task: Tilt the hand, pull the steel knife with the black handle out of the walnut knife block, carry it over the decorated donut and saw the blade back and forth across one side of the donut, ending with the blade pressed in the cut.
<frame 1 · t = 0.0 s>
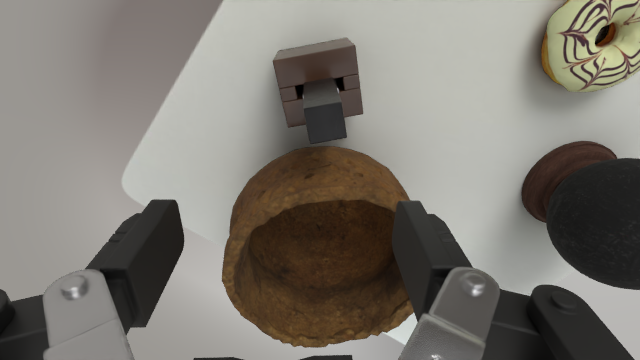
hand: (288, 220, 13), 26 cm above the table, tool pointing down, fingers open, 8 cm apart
black ball on stand: (566, 182, 43), on the table
knife block: (317, 74, 35), on the table
bowl: (321, 192, 42), on the table
knife: (320, 93, 28), in the knife block
decorated donut: (587, 32, 34), on the table
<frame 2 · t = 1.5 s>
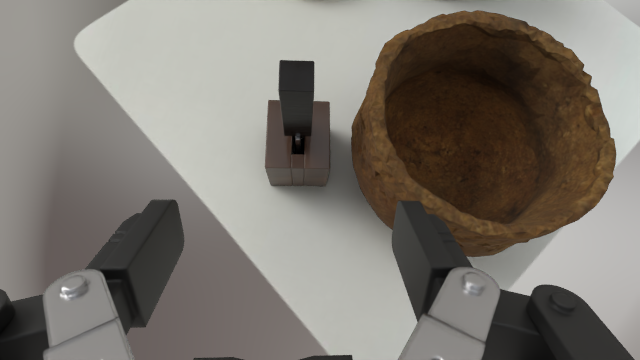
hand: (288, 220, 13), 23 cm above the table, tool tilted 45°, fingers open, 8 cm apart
knife block: (298, 155, 38), on the table
bowl: (423, 175, 38), on the table
knife: (298, 125, 31), in the knife block
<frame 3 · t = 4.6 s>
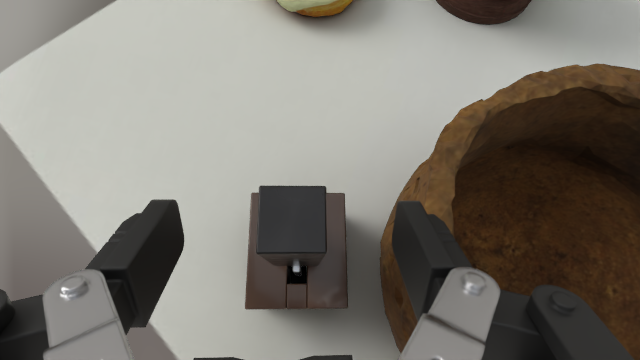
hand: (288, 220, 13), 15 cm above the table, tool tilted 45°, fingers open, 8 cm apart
knife block: (298, 256, 27), on the table
bowl: (477, 281, 27), on the table, touching gripper
knife: (296, 244, 19), in the knife block
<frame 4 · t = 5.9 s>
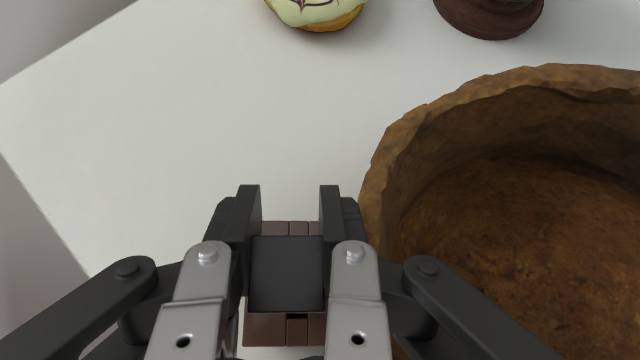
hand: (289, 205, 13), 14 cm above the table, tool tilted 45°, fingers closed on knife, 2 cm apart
knife block: (299, 282, 26), on the table
bowl: (490, 309, 25), point 1 cm above the table, touching gripper
knife: (293, 280, 18), in the knife block, touching gripper
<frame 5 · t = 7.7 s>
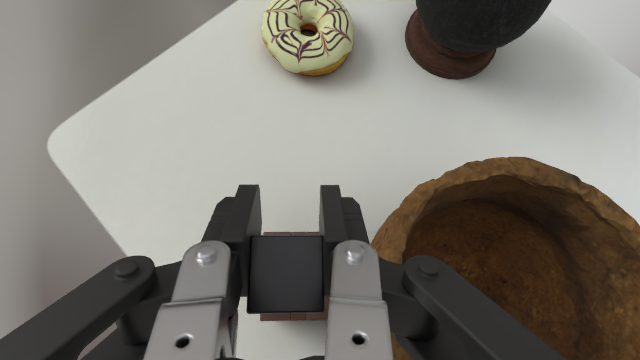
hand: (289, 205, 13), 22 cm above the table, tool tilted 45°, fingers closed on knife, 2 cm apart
black ball on stand: (448, 41, 43), on the table
knife block: (299, 276, 34), on the table
bowl: (439, 295, 34), on the table
knife: (293, 277, 18), point 16 cm above the table, touching gripper
decorated donut: (307, 44, 42), on the table
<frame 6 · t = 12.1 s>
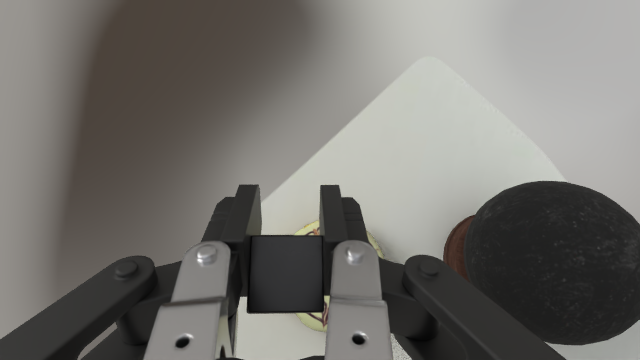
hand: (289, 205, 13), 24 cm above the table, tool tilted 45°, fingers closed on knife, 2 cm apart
black ball on stand: (493, 264, 37), on the table
knife: (293, 277, 18), point 18 cm above the table, touching gripper
decorated donut: (331, 273, 36), on the table
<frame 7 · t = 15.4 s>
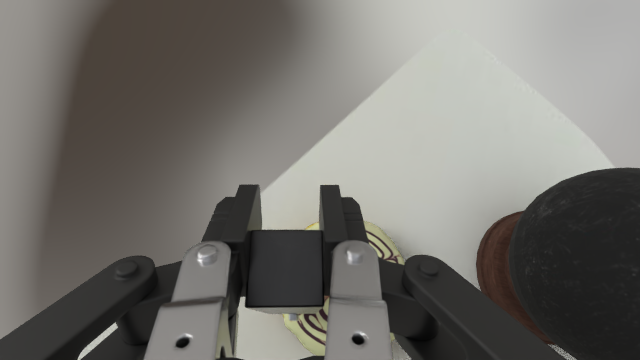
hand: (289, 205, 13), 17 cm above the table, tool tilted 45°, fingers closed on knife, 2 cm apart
black ball on stand: (537, 274, 30), on the table
knife: (293, 289, 18), point 12 cm above the table, tilted 5°, touching decorated donut, gripper
decorated donut: (339, 284, 29), on the table, touching knife
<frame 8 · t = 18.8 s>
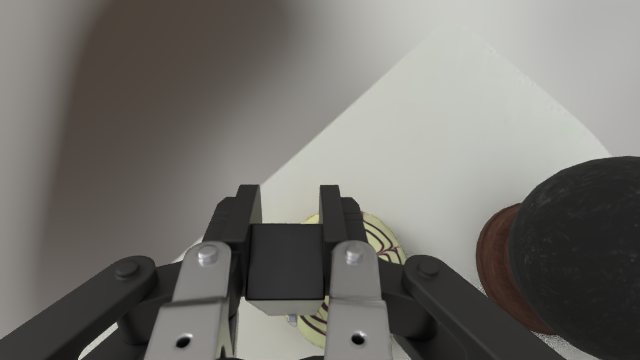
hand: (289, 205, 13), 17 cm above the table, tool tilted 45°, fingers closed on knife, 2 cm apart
black ball on stand: (536, 265, 30), on the table
knife: (292, 290, 18), point 12 cm above the table, tilted 7°, touching decorated donut, gripper
decorated donut: (339, 276, 29), on the table, touching knife
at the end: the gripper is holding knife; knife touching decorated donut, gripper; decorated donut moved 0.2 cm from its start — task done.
